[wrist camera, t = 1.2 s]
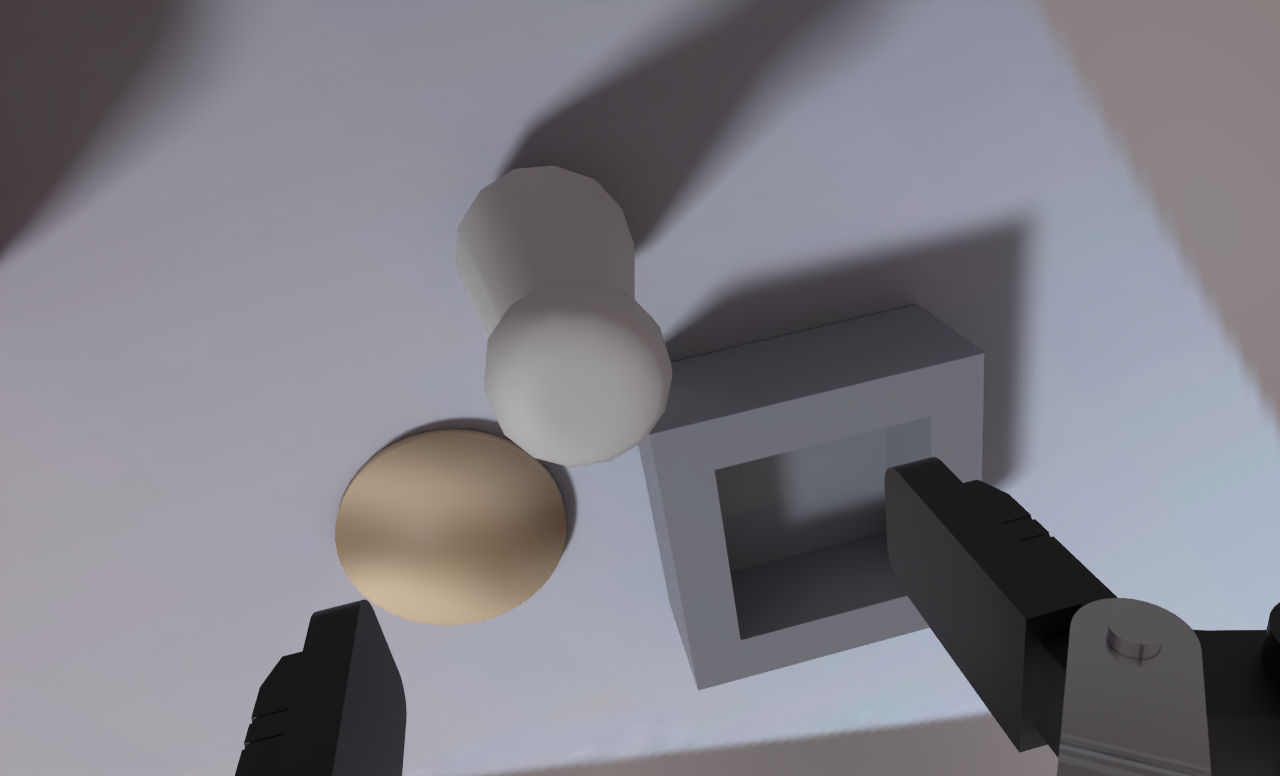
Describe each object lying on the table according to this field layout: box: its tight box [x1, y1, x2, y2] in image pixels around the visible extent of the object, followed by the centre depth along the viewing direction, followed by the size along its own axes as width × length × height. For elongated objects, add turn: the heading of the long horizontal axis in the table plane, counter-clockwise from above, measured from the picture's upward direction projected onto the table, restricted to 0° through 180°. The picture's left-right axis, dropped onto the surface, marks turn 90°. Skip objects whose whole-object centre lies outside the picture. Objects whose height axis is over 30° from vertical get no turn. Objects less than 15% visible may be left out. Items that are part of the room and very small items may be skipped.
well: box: [639, 304, 985, 690], centre depth 34 cm, size 12×12×5 cm
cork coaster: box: [335, 429, 567, 625], centre depth 34 cm, size 9×9×1 cm
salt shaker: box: [455, 166, 672, 467], centre depth 24 cm, size 6×6×13 cm
